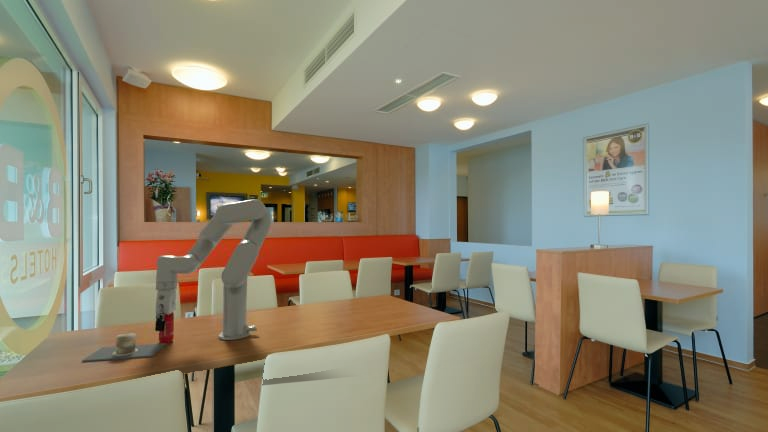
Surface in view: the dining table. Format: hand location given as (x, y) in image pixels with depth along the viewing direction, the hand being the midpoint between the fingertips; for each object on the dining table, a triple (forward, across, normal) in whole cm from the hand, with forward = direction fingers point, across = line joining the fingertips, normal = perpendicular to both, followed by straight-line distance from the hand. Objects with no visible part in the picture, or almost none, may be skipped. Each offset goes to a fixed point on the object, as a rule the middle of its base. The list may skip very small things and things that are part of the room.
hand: (164, 327), depth 151 cm
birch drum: (+6, -12, +9) cm, 16 cm away
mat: (+6, -11, +9) cm, 15 cm away
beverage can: (+6, 0, -1) cm, 6 cm away
